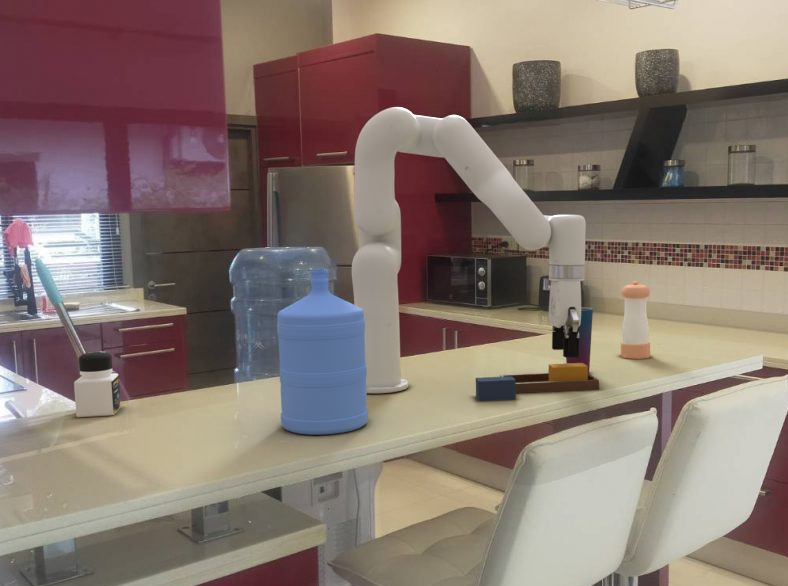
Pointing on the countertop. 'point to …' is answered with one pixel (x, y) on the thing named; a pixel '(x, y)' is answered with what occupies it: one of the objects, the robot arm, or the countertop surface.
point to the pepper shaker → (635, 322)
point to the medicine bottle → (96, 386)
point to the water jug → (322, 363)
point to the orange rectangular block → (568, 372)
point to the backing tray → (550, 383)
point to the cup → (584, 338)
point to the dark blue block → (495, 388)
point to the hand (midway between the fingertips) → (564, 353)
